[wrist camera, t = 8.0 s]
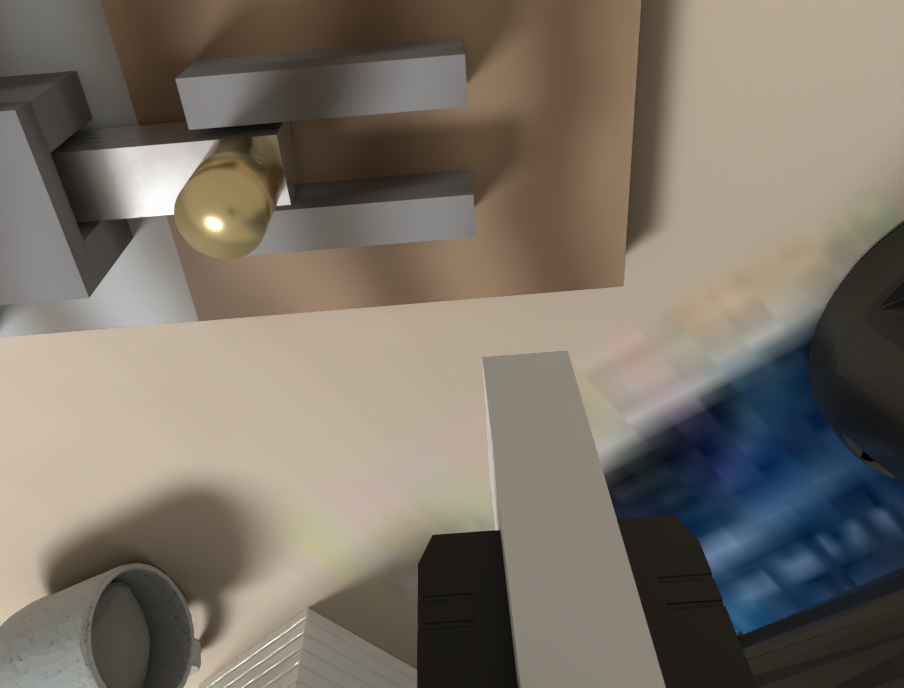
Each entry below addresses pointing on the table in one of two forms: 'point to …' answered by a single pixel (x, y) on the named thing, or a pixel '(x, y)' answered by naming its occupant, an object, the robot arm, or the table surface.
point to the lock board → (324, 152)
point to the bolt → (183, 179)
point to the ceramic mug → (103, 635)
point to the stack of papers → (313, 660)
